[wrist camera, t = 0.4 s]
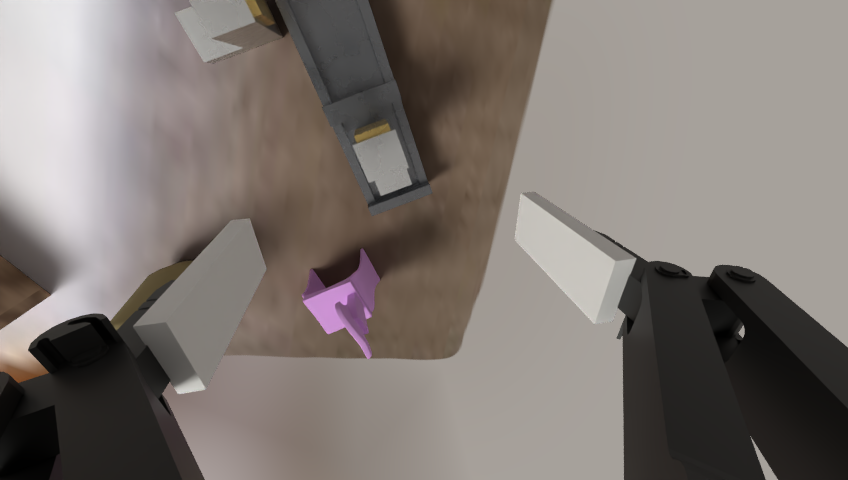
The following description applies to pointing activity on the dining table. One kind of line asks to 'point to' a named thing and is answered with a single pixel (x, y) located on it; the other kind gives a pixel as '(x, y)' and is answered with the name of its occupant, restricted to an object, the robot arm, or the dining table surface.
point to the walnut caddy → (17, 293)
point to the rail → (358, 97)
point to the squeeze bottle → (148, 290)
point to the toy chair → (345, 301)
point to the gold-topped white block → (228, 27)
